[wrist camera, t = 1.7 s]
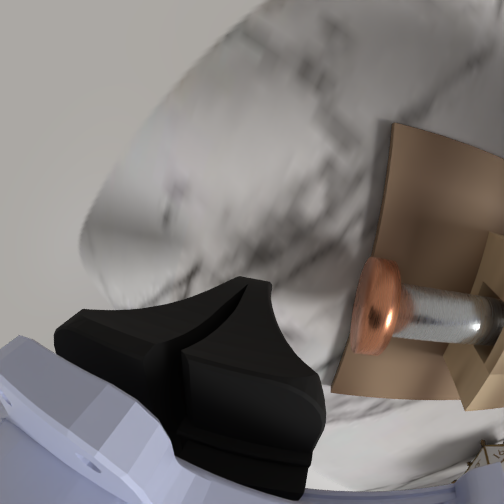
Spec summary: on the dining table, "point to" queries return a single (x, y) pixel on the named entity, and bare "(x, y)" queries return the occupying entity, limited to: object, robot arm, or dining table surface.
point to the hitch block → (437, 268)
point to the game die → (487, 456)
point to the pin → (417, 312)
